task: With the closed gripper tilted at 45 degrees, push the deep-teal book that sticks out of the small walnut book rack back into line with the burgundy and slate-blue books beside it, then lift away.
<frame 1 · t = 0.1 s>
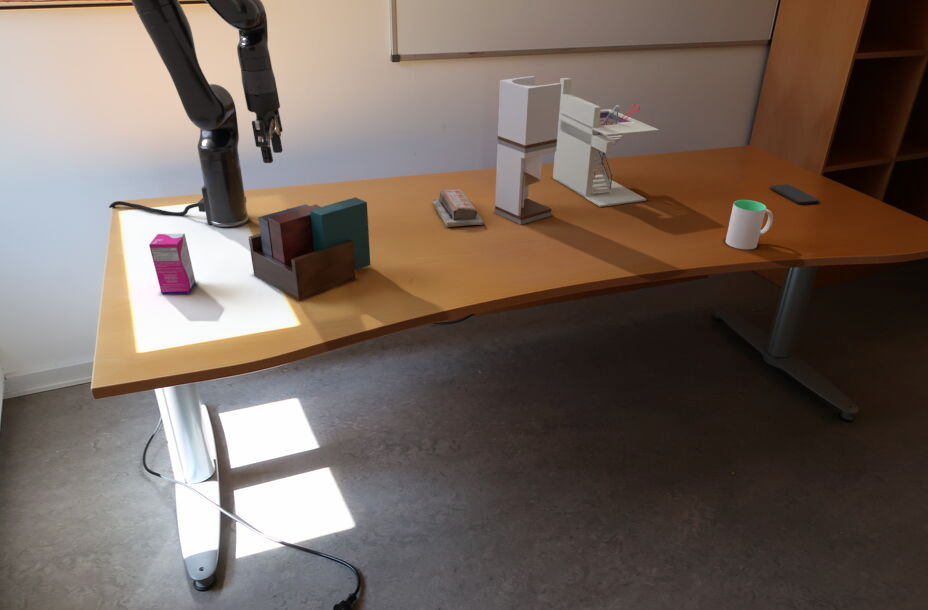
hand: (273, 157, 183), 17 cm above the table, tool pointing down, fingers open, 8 cm apart
packaged product: (457, 215, 202), on the table
book: (341, 238, 162), point 9 cm above the table, slide at 7.0 cm
book rack: (305, 277, 165), on the table
supplement box: (178, 289, 158), on the table
mug: (747, 243, 195), on the table
notched white tower: (522, 214, 205), on the table
architectural model: (600, 189, 227), on the table
phone: (793, 195, 229), on the table
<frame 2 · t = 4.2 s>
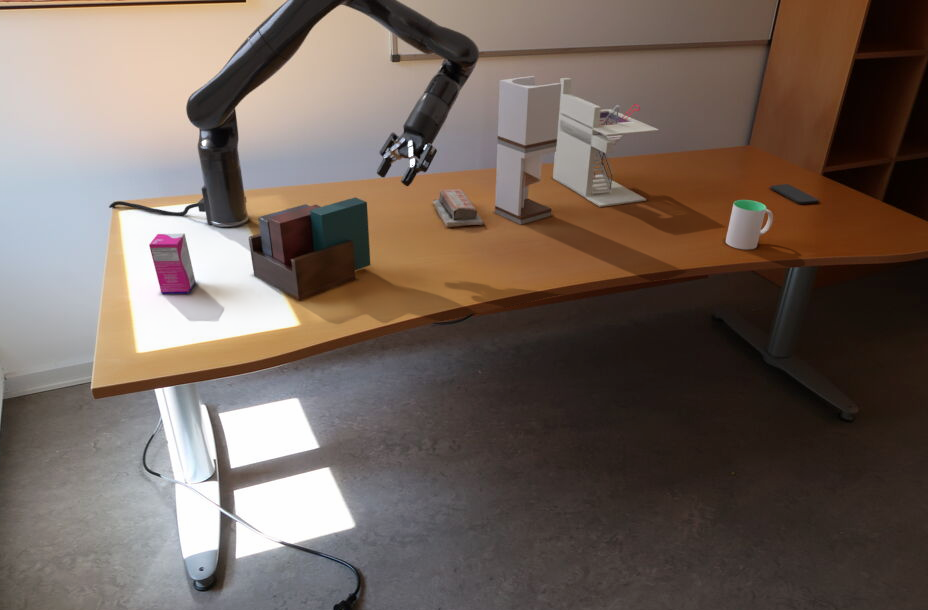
hand: (392, 179, 168), 19 cm above the table, tool tilted 45°, fingers open, 8 cm apart
nothing on the table moved.
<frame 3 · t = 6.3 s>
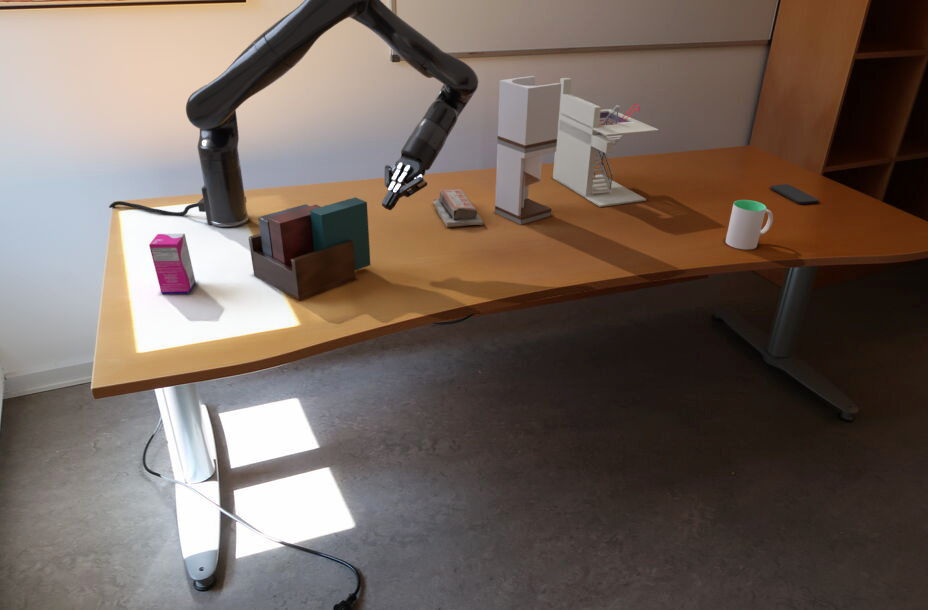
hand: (386, 207, 169), 13 cm above the table, tool tilted 45°, fingers closed
nothing on the table moved.
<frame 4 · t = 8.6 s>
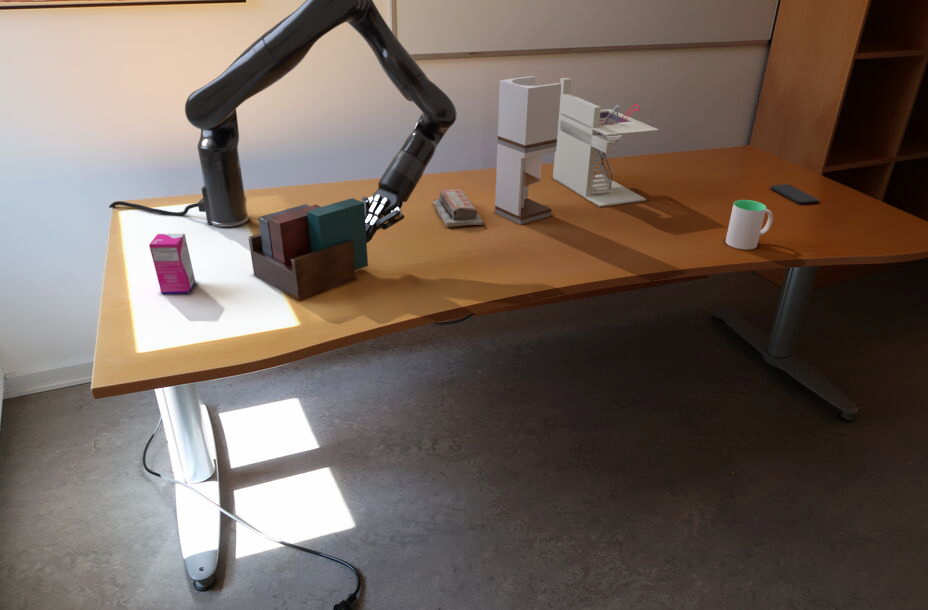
hand: (362, 240, 167), 7 cm above the table, tool tilted 45°, fingers closed
book: (339, 239, 162), point 9 cm above the table, slide at 6.3 cm, touching gripper
everything else where it was.
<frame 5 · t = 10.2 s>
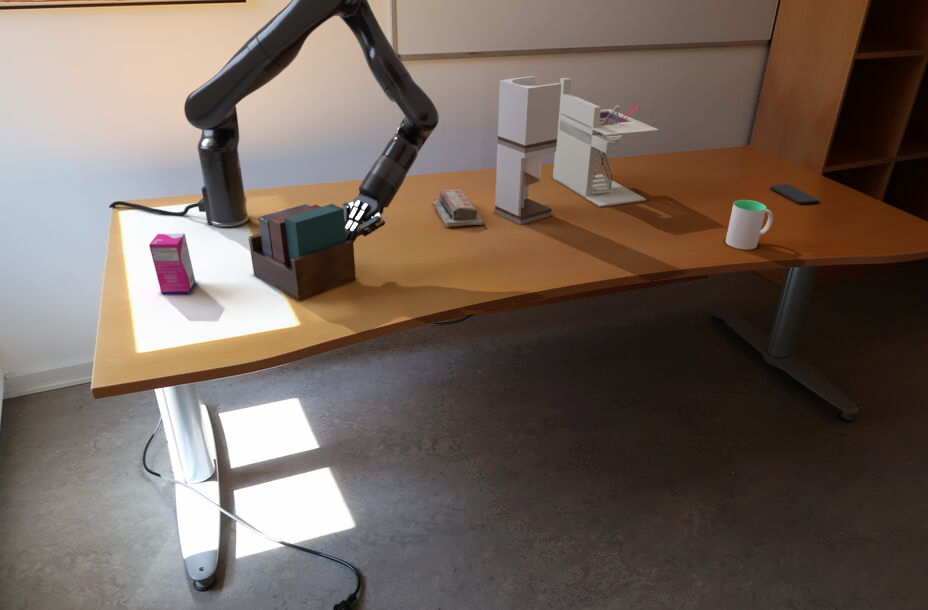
hand: (343, 246, 164), 7 cm above the table, tool tilted 45°, fingers closed
book: (318, 246, 158), point 9 cm above the table, slide at 0.7 cm, touching gripper
everything else where it was.
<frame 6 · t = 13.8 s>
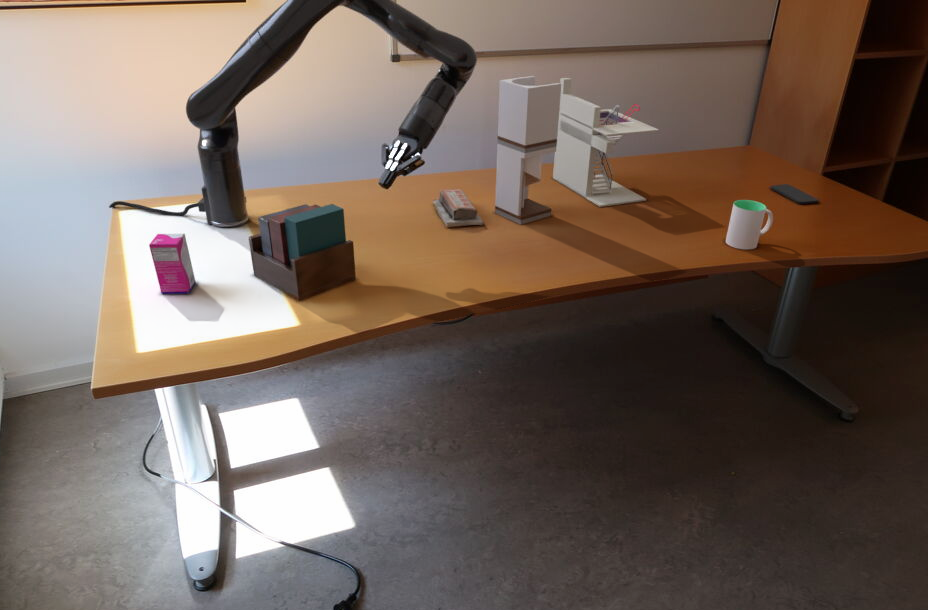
hand: (382, 186, 166), 18 cm above the table, tool tilted 45°, fingers closed
book: (317, 246, 158), point 9 cm above the table, slide at 0.7 cm
everything else where it was.
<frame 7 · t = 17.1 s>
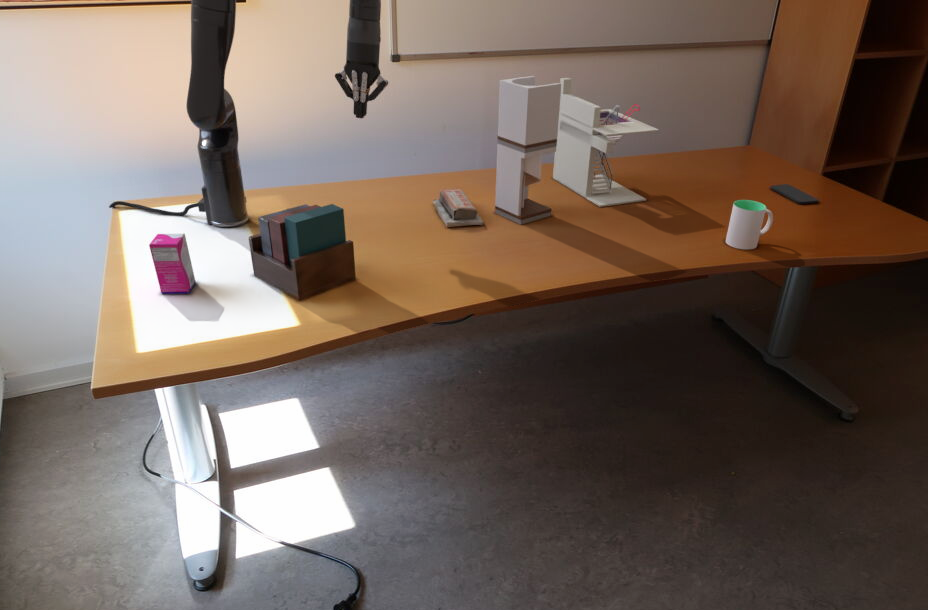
hand: (359, 117, 179), 27 cm above the table, tool pointing down, fingers closed
nothing on the table moved.
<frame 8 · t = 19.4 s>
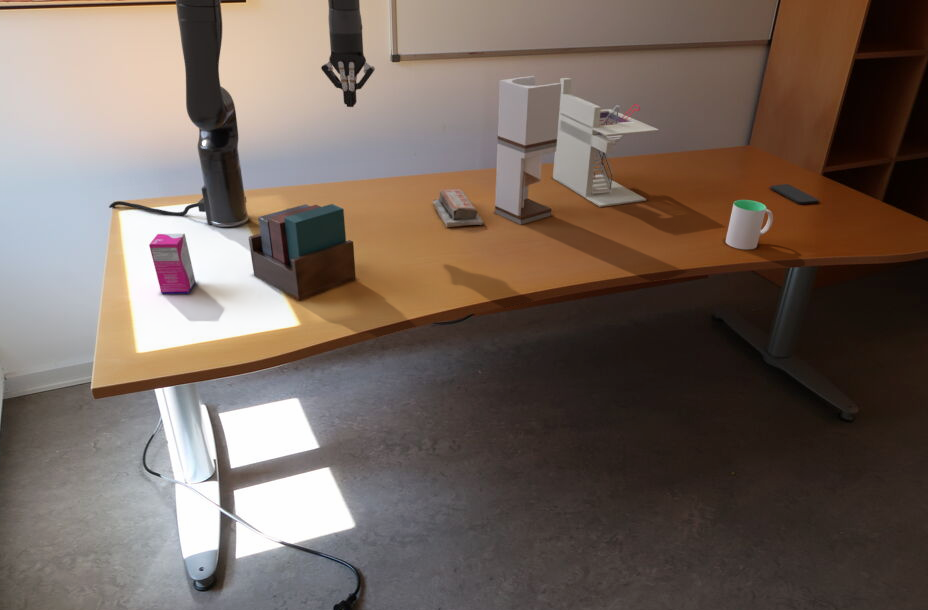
hand: (350, 106, 182), 29 cm above the table, tool pointing down, fingers closed
nothing on the table moved.
at the end: book slide at 0.7 cm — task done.
